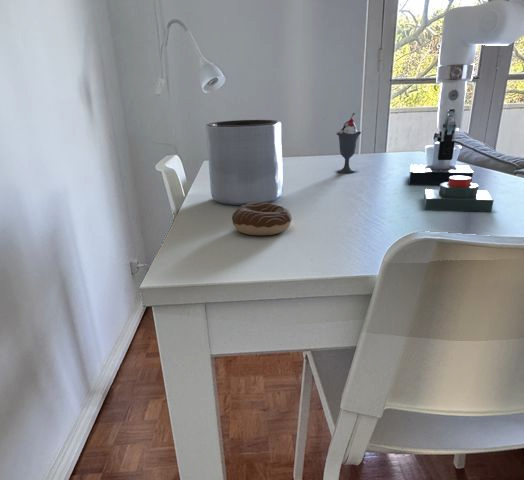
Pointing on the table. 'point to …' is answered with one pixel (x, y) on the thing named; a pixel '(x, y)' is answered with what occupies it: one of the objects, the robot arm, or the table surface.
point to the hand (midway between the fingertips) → (443, 157)
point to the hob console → (435, 174)
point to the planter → (245, 161)
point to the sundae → (348, 143)
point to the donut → (261, 219)
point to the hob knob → (439, 163)
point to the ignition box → (458, 198)
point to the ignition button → (459, 181)
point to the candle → (431, 149)
